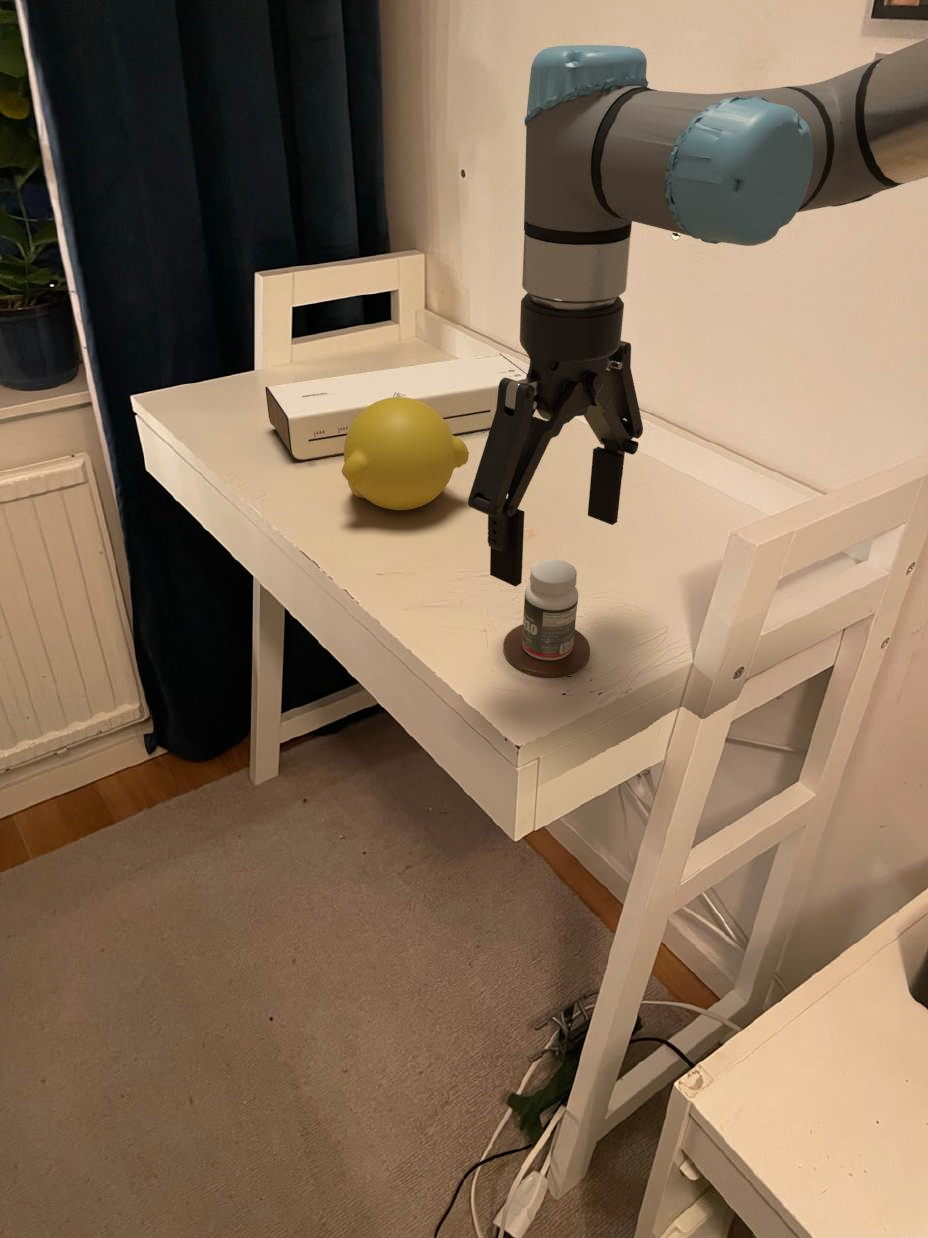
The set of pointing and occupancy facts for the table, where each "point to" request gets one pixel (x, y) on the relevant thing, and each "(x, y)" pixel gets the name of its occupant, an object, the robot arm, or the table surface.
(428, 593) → the table surface
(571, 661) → the coaster
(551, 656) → the pill bottle
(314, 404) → the laminator
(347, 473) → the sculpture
